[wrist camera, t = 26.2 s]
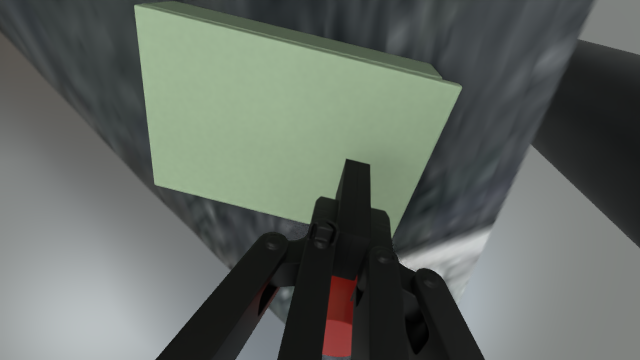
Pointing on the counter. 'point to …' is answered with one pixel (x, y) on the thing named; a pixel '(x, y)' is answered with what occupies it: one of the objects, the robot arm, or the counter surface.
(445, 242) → the counter surface
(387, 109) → the lid
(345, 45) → the green open box
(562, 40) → the counter surface
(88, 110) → the counter surface
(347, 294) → the tin
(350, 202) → the robot arm
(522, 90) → the counter surface
